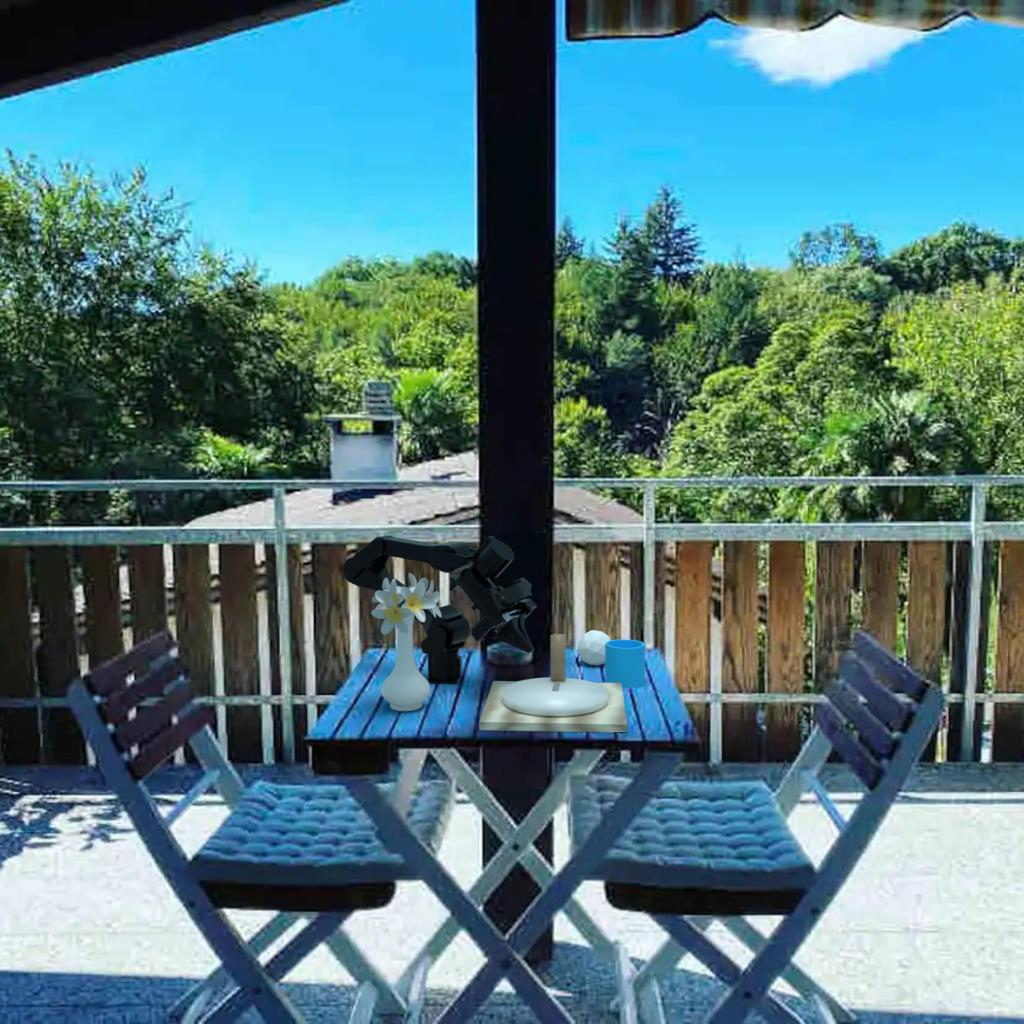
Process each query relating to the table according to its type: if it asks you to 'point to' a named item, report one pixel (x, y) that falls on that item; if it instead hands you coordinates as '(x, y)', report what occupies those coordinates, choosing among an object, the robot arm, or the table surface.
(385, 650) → the table surface
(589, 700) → the dial
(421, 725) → the table surface
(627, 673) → the mug
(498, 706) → the dial board
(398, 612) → the flower vase
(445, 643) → the robot arm
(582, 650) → the ball
